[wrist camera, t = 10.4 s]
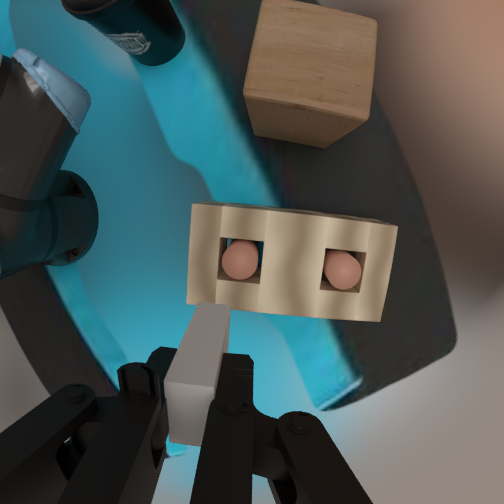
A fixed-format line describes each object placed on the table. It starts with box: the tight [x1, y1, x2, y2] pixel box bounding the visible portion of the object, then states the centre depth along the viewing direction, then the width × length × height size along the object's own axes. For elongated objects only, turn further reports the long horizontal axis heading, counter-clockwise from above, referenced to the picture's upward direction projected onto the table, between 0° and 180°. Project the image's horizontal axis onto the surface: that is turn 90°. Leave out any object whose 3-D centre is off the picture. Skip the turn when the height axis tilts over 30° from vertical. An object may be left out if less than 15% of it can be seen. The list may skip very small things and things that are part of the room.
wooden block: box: [243, 0, 377, 148], centre depth 31 cm, size 10×10×20 cm
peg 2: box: [323, 248, 361, 290], centre depth 40 cm, size 4×4×8 cm
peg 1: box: [222, 238, 259, 280], centre depth 40 cm, size 4×4×8 cm
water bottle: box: [61, 0, 185, 66], centre depth 28 cm, size 10×10×23 cm
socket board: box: [187, 201, 398, 322], centre depth 41 cm, size 24×12×8 cm, turn 84°
